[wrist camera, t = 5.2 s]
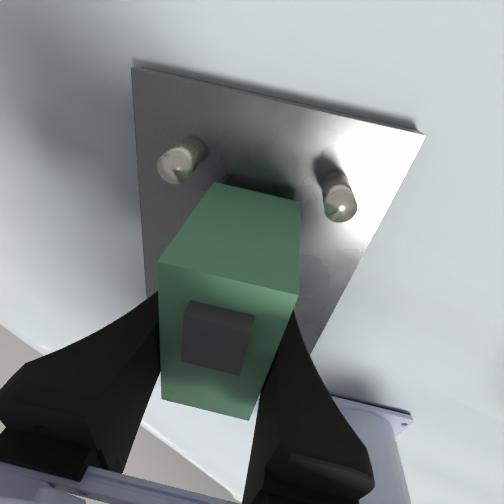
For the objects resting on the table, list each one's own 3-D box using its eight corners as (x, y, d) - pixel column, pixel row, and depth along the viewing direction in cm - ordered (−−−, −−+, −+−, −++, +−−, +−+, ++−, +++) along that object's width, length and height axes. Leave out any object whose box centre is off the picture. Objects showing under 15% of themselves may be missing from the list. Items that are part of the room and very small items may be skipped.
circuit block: (264, 317, 17) (246, 435, 12) (201, 302, 17) (155, 413, 12) (300, 202, 12) (298, 311, 7) (214, 181, 12) (147, 275, 7)
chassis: (306, 349, 21) (306, 395, 18) (154, 312, 21) (131, 351, 18) (417, 130, 12) (454, 154, 9) (142, 67, 12) (92, 70, 9)
